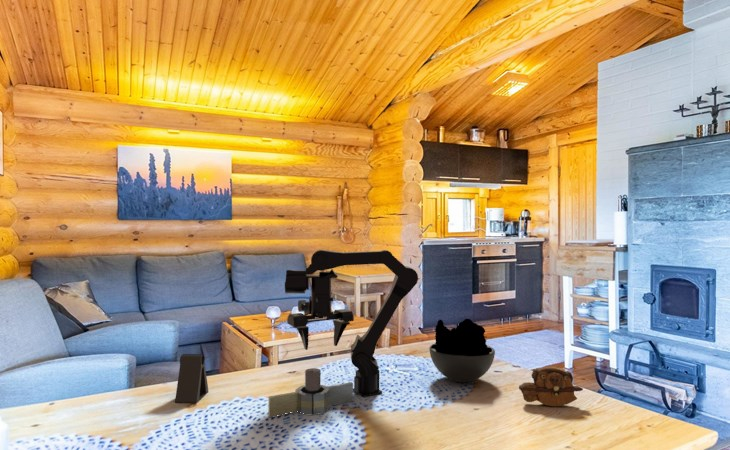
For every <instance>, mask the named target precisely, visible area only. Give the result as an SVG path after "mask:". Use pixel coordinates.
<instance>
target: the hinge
mask: <svg viewBox="0 0 730 450" xmlns="http://www.w3.org/2000/svg"><path fill="white" fill-rule="evenodd" d="M353 388H354V382H352V381H351V382H349V381H348V382H344V383H339V384H338V383H337V384H334V385H333V384H332V385H328V386H327V385H324V384H320V393H314V394H310V393H305V384H304V385H300V386H298V387H297V388H296V389H295V391H292V392H288V393H287V392H286V393H281V394H275V395H269V396H268V400H267V401H268V406H267V407H268V409H267V410H268V414H267V415H268V416H269V417H271V418H274V417H273V416H276V417H278V416H277V415H281V416H283V415H282V414H285V413H290V412H296V413H299V414H301V413H304V414H303V415H306V414H312V415H313V414H316V415H319V414H318V413H321V414H325V413H327V412H328V411H329V409H330V407H331V406H337V405H341V404H347V403H351V402H353V401H354V391H353ZM297 411H298V412H297ZM300 412H301V413H300ZM269 417H268V418H269Z"/></svg>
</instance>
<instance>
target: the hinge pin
mask: <svg viewBox="0 0 730 450" xmlns="http://www.w3.org/2000/svg"><path fill="white" fill-rule="evenodd" d="M304 373H305V375H304V379H305V381H304V385H305V393H310V394H314V393H320V385H321V381H322V380H321V375H322V374H321V369H319V368H317V367H316V368H315V367H314V368H312V367H311V368H307V369H305V372H304Z"/></svg>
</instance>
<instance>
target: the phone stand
mask: <svg viewBox="0 0 730 450" xmlns="http://www.w3.org/2000/svg"><path fill="white" fill-rule="evenodd" d="M205 360H206V355H205V354H201V353H199V354H197V353H195V354H194V353H183V354H181V355H180V357H179V370H178V377H177V384H176V385H177V386H176V391H175V399H174V403H175V404H177V403H178V404H198V403H199V402H200V401H201V400H202V399H203V398H204V397H205V396H206V395H207V394H208V393H209V386H208V385H209V384H208V378H207V371H206V363H205V362H206V361H205Z"/></svg>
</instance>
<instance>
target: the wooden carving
mask: <svg viewBox="0 0 730 450" xmlns="http://www.w3.org/2000/svg"><path fill="white" fill-rule="evenodd" d="M530 376H531V378H532V379H533V382H529V381H528V382H527V381H526V382H523V383H521V384H519V385H518V389H519V391H521V393H522V396H523V400H524V402H527V403H533V402H536V401H537V402H538V403H541V404H542V405H545V406H549V407H561V406H566V405H570V403H572V402H574V401H576V400H578V397H577V396H576V395H575V392H581V391H583V389H584V388H582V387H580V386H578V385H573V381H574V376H573V374H572V372H570V370H567V371H565V370H563V369H561V368H557V367H554V366H544V367H541V368H539V369H536V368H534V369H533V370H532V372H531V375H530Z"/></svg>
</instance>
